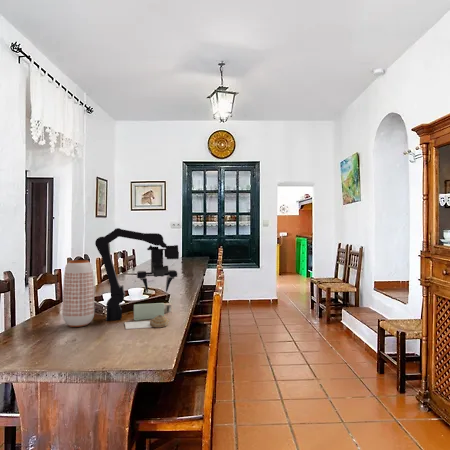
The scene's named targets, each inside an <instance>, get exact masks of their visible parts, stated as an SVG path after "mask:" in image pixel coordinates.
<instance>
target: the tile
mask: <svg viewBox="0 0 450 450" xmlns="http://www.w3.org/2000/svg"><path fill="white" fill-rule="evenodd" d="M150 322H151V320H139V321H127V322H126V321H125V322H124V327H125V330H134V329H135V330H136V329H150V328H151V329H152V328H153V327H152V326H151V325H150Z"/></svg>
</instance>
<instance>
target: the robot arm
mask: <svg viewBox="0 0 450 450" xmlns="http://www.w3.org/2000/svg"><path fill="white" fill-rule="evenodd" d="M118 237H119V238H124V239H125V238H126V239H129V240H130V239H132V240H137V241H142V242H145V243H148V244H150V245H149V246H148V247H147V248H146V250H147V251H150V271H149V272H147V271H146V270H138V271H136V278H137V279H139V281H140V280H141V281H142V282H143V285H144V288H145V291H146V293H148V292H149V290H148V289H149V288H148V279H147V277H154V278H156V277H165V276H166V281H165V282H166V283H165V292H168V290H169V287H170V285H171V282H172V280H174V279H175V278H178V272H177V270H176V269H169V265H164V258H166V260H179V257H180V251H179V245H178V244H174V245H167V243H165V240H164V237H163V235H162V234H160V233H155V232H153V233H152V232H151V233H149V232H148V233H147V232H146V233H144V232H138V231H133V230H127V229H122V228H119V227H116V228H114V230H113V231H111V232H109V233H108V234H106V235H105V236H99V237H97V238H96V240H95V243H94V245H95V248H96V249H97V251H98V253H99V254H100V256H101V259H102V261H103V266H104V268H105V272H106V275H107V279H108V283H109V288H110V292H109V293H110V298H109V299H108V300H107V302H106V318H105V321H106V322H112V321H121V320H122V318H123V316H122V315H123V308H121V304H122V303H123V301H125V300H124V299H125V296H126V292H127V291H125V289H124V288H125V287H124V285H123V284H122V285H121V284H120V283H119V280H118V277H117V273H116V269H115V266H114V263H113V259H112V256H111V245H110V243H111V242H113V241H114V240H115V239H118ZM152 245H153V246H152ZM159 247H161V248H159Z"/></svg>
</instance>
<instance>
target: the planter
mask: <svg viewBox="0 0 450 450" xmlns="http://www.w3.org/2000/svg"><path fill="white" fill-rule="evenodd" d="M63 276H64V277H63V289H62V311H61V314H62V319H63V321H64V323H65V324H66V325H67V326H68V327H71V328H79V327H81V328H82V327H86V326H88V325H89V324H90V323H91V322H92V321H93V319H94V317H95V286H94V285H95V284H94V281H95V280H94V271H93V264H92V263H91V262H90V261H89V260H88V259H75V260H74V259H73V260H69V261H68V262H67V263H66V265H65V267H64V275H63Z"/></svg>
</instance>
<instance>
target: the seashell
mask: <svg viewBox="0 0 450 450" xmlns="http://www.w3.org/2000/svg"><path fill="white" fill-rule="evenodd" d="M169 322H170V319H168V318H167V317H166V316H165V315H164V316H162V315H158V316H156V317H155V318H154V319H150V325H151V326H152V327H151V328H163V327H166V326H168V324H169Z"/></svg>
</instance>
